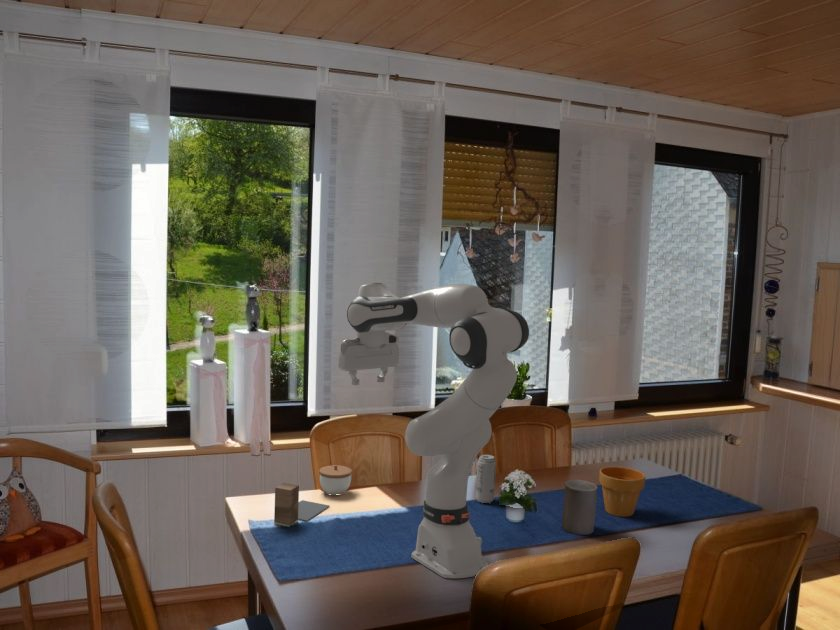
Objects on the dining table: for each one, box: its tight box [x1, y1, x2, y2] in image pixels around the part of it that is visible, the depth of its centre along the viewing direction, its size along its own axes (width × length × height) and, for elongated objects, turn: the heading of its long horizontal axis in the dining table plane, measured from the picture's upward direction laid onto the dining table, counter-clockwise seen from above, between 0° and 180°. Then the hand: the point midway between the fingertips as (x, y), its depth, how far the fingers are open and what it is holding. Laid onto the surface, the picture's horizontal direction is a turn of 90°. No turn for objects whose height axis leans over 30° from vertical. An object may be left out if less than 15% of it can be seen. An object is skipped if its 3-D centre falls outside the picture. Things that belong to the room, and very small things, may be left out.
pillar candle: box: [561, 479, 598, 536], centre depth 223 cm, size 10×10×15 cm
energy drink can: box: [475, 454, 497, 504], centre depth 243 cm, size 6×6×15 cm
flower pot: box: [598, 466, 646, 518], centre depth 238 cm, size 14×14×13 cm
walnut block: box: [273, 482, 300, 528], centre depth 217 cm, size 5×5×11 cm
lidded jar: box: [318, 464, 353, 496], centre depth 245 cm, size 11×11×9 cm
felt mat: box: [298, 499, 330, 522], centre depth 227 cm, size 14×10×1 cm
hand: (368, 383), depth 219 cm, fingers open, 8 cm apart
